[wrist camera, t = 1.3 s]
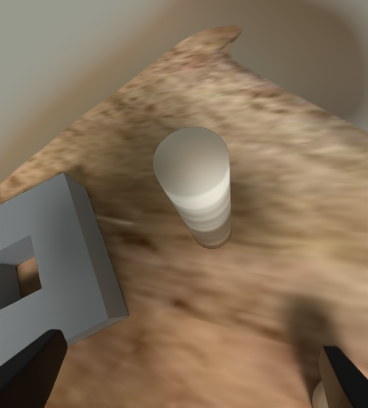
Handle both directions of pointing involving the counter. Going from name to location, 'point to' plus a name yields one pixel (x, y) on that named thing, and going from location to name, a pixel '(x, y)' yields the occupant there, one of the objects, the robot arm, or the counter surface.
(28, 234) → the socket block
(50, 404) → the counter surface
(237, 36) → the counter surface
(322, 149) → the counter surface
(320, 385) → the short pin
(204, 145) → the long pin
